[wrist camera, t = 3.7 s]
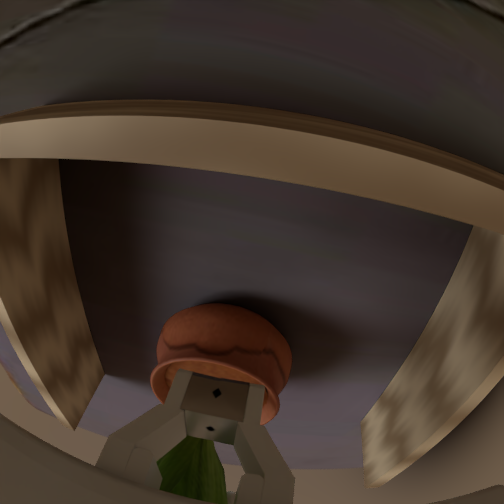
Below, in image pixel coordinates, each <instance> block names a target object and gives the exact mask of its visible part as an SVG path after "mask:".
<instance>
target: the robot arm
mask: <svg viewBox="0 0 504 504" xmlns="http://www.w3.org/2000/svg"><path fill="white" fill-rule="evenodd" d="M249 384H250V385H249ZM264 392H265V385H259V384H252V383H249V382H243V381H237V380H231V379H225V378H218V377H213V376H209V375H205V374H200V373H196V372H193V371H188V370H184V369H180V368H179V370H178V371H177V372H176V375H175V377H174V380H173V382H172V385H171V388H170V390H169V393H168V395H167V398H166V400H165V403H164V405H163V404H159V405H157V406H156V407H154V408H152V409H151V410H149V411H148V412H146V413H145V414H143V415H142V416H140V417H138V418H137V419H135V420H134V421H132V422H130V423H129V424H127V425H126V426H124V427H122V428H121V429H119V430H117V431H116V432H114V433H113V434H111V435H109V437H108V439H107V442H106V443H105V446H104V448H103V450H102V452H101V454H100V457H99V459H98V461H97V463H96V465H95V466H93V465H91V464H89V463H86V462H84V461H82V460H80V459H78V458H76V457H73V456H72V455H70V454H68V453H66V452H63V451H62V450H60V449H58V448H56V447H54V446H52V445H50V444H49V443H47V442H45V441H43V440H42V439H40V438H38V437H36V436H35V435H33V434H31V433H29V432H28V431H26V430H25V429H23V428H21V427H20V426H18V425H17V424H15V423H14V422H12V421H11V420H9V419H8V418H6V417H5V416H3V415H2V414H0V504H215V503H210V502H205V501H200V500H196V499H192V498H188V497H183V496H180V495H176V494H172V493H169V492H165V491H162V490H159V489H160V485H161V482H162V479H163V478H162V476H161V473H160V471H159V468H158V466H157V463H156V461H158V460H159V459H160V458H161V457H163V456H164V455H165V454H166V453H167V452H169V451H170V450H171V449H172V448H173V447H175V446H176V445H177V444H178V443H179V442H181V441H182V440H183V439H184V438H185V437H186V435H188V436H193V437H198V438H202V439H207V440H212V441H217V442H221V443H226V444H230V445H234V448H235V451H236V453H237V455H238V458H239V460H240V462H241V465H242V467H243V469H244V471H245V473H246V474H244V475H243V476H242V477H241V480H240V483H239V486H238V489H237V492H236V495H235V499H234V504H293V495H294V483H295V477H294V476H293V475H292V472H291V471H290V469H289V467H288V466H287V464H286V462H285V461H284V459H283V457H282V456H281V454H280V452H279V451H278V449H277V447H276V446H275V444H274V442H273V440H272V439H271V437H270V435H269V433H268V432H267V430H266V428H265V426H262V425H260V421H261V414H262V407H263V399H264ZM429 504H504V486H503V485H495V486H492V487H489V488H486V489H483V490H479V491H476V492H473V493H470V494H466V495H463V496H459V497H455V498H452V499H447V500H443V501H438V502H434V503H429Z"/></svg>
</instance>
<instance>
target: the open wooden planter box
mask: <svg viewBox="0 0 504 504" xmlns="http://www.w3.org/2000/svg"><path fill="white" fill-rule="evenodd" d="M59 159H84V160H103V161H118V162H132V163H144V164H155V165H165V166H175V167H184V168H193V169H202V170H210V171H218V172H225V173H232V174H239V175H246V176H253V177H259V178H266V179H272V180H278V181H284V182H290V183H296V184H301V185H307V186H312V187H317V188H323V189H328V190H333V191H338V192H343V193H348V194H352V195H357V196H362V197H366V198H371V199H375V200H380V201H384V202H388V203H392V204H397V205H401V206H405V207H409V208H413V209H417V210H421V211H424V212H428V213H432V214H436V215H440V216H443V217H447V218H450V219H454V220H457V221H461V222H464V223H468V224H471V225H473V228H472V231H471V233H470V236H469V238H468V241H467V243H466V246H465V248H464V250H463V253H462V255H461V257H460V260H459V262H458V264H457V266H456V268H455V271H454V273H453V275H452V277H451V279H450V281H449V283H448V285H447V287H446V289H445V291H444V293H443V295H442V297H441V299H440V301H439V303H438V305H437V307H436V309H435V311H434V312H433V314H432V316H431V318H430V320H429V322H428V323H427V325H426V327H425V329H424V330H423V332H422V334H421V335H420V337H419V339H418V340H417V342H416V344H415V345H414V347H413V349H412V350H411V352H410V353H409V355H408V357H407V358H406V360H405V361H404V363H403V364H402V366H401V367H400V369H399V370H398V372H397V373H396V375H395V376H394V378H393V379H392V381H391V382H390V384H389V385H388V386H387V388H386V389H385V391H384V392H383V393H382V395H381V396H380V398H379V399H378V400H377V402H376V403H375V404H374V406H373V407H372V408H371V410H370V411H369V412H368V413H367V415H366V416H365V417H364V419H363V420H362V421H361V434H362V448H363V464H364V487H365V488H375V487H380V486H381V485H383V484H384V483H386V482H387V481H389V480H390V479H392V478H393V477H395V476H396V475H397V474H399V473H400V472H401V471H403V470H404V469H406V468H407V467H408V466H410V465H411V464H412V463H414V462H415V461H416V460H417V459H419V458H420V457H421V456H422V455H424V454H425V453H426V452H427V451H428V450H430V449H431V448H432V447H433V446H435V445H436V444H437V443H438V442H439V441H440V440H441V439H443V438H444V437H445V436H446V435H447V434H448V433H449V432H450V431H451V430H453V429H454V428H455V427H456V426H457V425H458V424H459V423H460V422H461V421H462V420H463V419H464V418H465V417H466V416H467V415H468V414H469V413H470V412H471V411H472V410H473V409H474V408H475V407H476V406H477V405H478V404H479V403H480V402H481V401H482V400H483V399H484V397H485V396H486V395H487V394H488V393H489V392H490V391H491V390H492V388H493V387H494V386H495V385H496V384H497V383H498V382H499V380H500V379H501V378H502V377H503V376H504V175H502V174H500V173H498V172H496V171H493V170H491V169H489V168H486V167H484V166H482V165H479V164H477V163H474V162H472V161H469V160H467V159H464V158H462V157H459V156H456V155H454V154H451V153H448V152H445V151H443V150H440V149H437V148H434V147H431V146H428V145H425V144H422V143H419V142H416V141H413V140H409V139H406V138H403V137H399V136H396V135H392V134H389V133H385V132H382V131H378V130H374V129H370V128H366V127H362V126H358V125H354V124H350V123H345V122H341V121H336V120H332V119H327V118H322V117H317V116H312V115H306V114H301V113H295V112H289V111H282V110H276V109H269V108H262V107H254V106H245V105H236V104H226V103H215V102H201V101H183V100H103V101H86V102H73V103H62V104H52V105H44V106H39V107H35V108H30V109H26V110H22V111H18V112H15V113H11V114H7V115H4V116H0V321H1V323H2V325H3V328H4V330H5V332H6V334H7V336H8V338H9V340H10V342H11V344H12V346H13V348H14V349H15V351H16V353H17V355H18V357H19V359H20V360H21V362H22V364H23V366H24V367H25V369H26V371H27V373H28V374H29V376H30V378H31V379H32V381H33V383H34V384H35V386H36V387H37V389H38V390H39V392H40V394H41V395H42V397H43V398H44V400H45V401H46V403H47V404H48V406H49V407H50V408H51V410H52V411H53V413H54V414H55V416H56V417H57V418H58V420H59V421H60V422H61V424H62V425H63V426H65V427H67V428H69V429H71V430H74V431H75V429H76V427H77V425H78V423H79V421H80V420H81V418H82V416H83V414H84V412H85V410H86V408H87V406H88V404H89V402H90V400H91V399H92V397H93V395H94V393H95V391H96V389H97V387H98V386H99V384H100V382H101V380H102V378H103V376H104V375H105V374H104V371H103V368H102V365H101V362H100V360H99V357H98V354H97V351H96V348H95V345H94V342H93V338H92V335H91V332H90V329H89V325H88V322H87V319H86V315H85V311H84V308H83V304H82V300H81V296H80V292H79V288H78V284H77V280H76V275H75V271H74V266H73V262H72V257H71V251H70V246H69V241H68V235H67V229H66V223H65V216H64V209H63V201H62V192H61V183H60V172H59Z"/></svg>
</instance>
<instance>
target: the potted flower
mask: <svg viewBox="0 0 504 504" xmlns="http://www.w3.org/2000/svg"><path fill="white" fill-rule="evenodd" d="M157 360H158V365H157V366H156V367H155V368H154V369H153V371H152V373H151V377H150V383H151V387H152V390H153V392H154V393H155V395H156V397H157V398H158V399H159V400H160V402H161V403H162V404H163V405H164V403H165V400H166V398H167V395H168V393H169V390H170V388H171V385H172V382H173V380H174V377H175V375H176V372H177V371H178V370H179V368H180V369H184V370H188V371H193V372H196V373H200V374H205V375H209V376H213V377H218V378H225V379H231V380H237V381H243V382H249V383H252V384H259V385H265V392H264V399H263V407H262V414H261V421H260V425H264V424H266V423H268V422H269V421H270V420H272V419H273V418H274V417H275V416H276V415H277V413H278V411H279V407H280V402H279V397H278V395H279V393H280V392H281V391H282V390H283V388H284V387H285V386H286V384H287V381H288V378H289V374H290V370H291V365H292V353H291V350H290V347H289V345H288V343H287V341H286V339H285V338H284V337H283V336H282V335H281V333H280V332H279V331H278V330H277V329H276V328H275V327H274V326H273V325H272V324H271V323H270V322H269V321H267V320H266V319H265V318H263V317H262V316H260V315H259V314H257V313H255V312H253V311H251V310H248V309H245V308H242V307H240V306H235V305H231V304H223V303H208V304H201V305H198V306H194V307H191V308H187V309H184V310H182V311H180V312H178V313H176V314H174V315H173V316H172V317H170V318H169V319H168V320H167V322H166V323H165V324H164V326H163V328H162V330H161V334H160V337H159V341H158V344H157ZM249 385H250V384H249ZM156 463H157V466H158V468H159V471H160V473H161V476H162V478H163V479H162V482H161V485H160V489H159V490H162V491H165V492H169V493H172V494H176V495H180V496H183V497H188V498H192V499H196V500H200V501H205V502H210V503H215V504H234V499H235V495H236V494H235V492H231V491H229V492H227V493H226V484H225V475H224V468H223V466H222V464H221V462H220V460H219V457H218V455H217V453H216V451H215V447H214V442H213V441H212V440H207V439H202V438H198V437H193V436H188V435H186V437H185V438H184V439H183V440H182V441H181V442H179V443H178V444H177V445H176V446H175V447H173V448H172V449H171V450H170V451H169V452H167V453H166V454H165V455H164V456H163V457H161V458H160V459H159V460H158V461H156Z"/></svg>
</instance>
